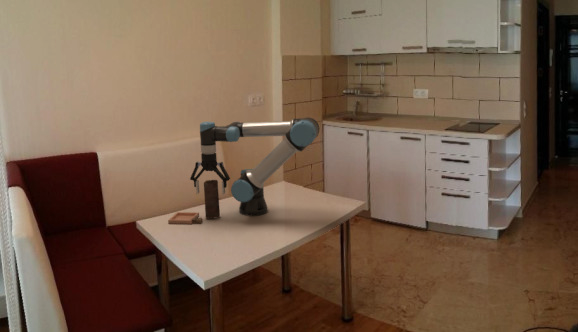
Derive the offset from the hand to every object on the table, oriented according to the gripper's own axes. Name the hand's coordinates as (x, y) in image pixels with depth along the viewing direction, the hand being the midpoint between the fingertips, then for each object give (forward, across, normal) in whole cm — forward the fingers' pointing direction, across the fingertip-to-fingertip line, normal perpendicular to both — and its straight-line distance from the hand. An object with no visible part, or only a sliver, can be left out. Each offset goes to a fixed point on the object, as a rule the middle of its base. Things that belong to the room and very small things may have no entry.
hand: (210, 193), depth 265 cm
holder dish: (+13, +14, +4) cm, 19 cm away
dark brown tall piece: (+13, 0, 0) cm, 13 cm away
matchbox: (+13, +6, +8) cm, 16 cm away
